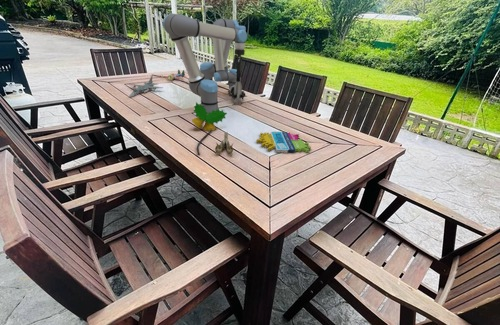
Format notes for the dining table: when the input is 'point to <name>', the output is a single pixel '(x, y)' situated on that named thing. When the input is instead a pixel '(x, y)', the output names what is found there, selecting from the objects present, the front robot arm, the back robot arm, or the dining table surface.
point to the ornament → (207, 117)
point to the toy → (174, 76)
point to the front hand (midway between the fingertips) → (238, 80)
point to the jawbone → (224, 145)
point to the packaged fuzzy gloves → (283, 142)
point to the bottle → (237, 93)
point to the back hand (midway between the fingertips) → (238, 97)
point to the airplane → (143, 87)
